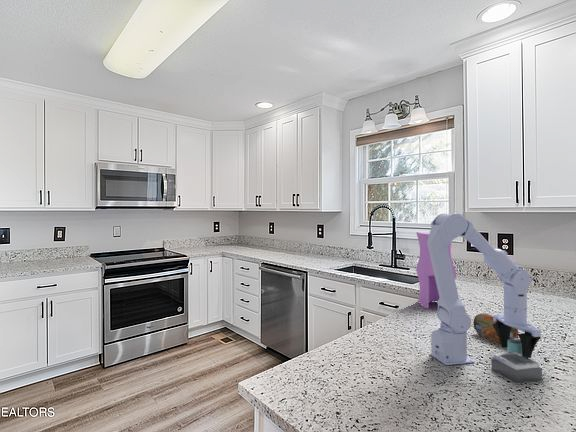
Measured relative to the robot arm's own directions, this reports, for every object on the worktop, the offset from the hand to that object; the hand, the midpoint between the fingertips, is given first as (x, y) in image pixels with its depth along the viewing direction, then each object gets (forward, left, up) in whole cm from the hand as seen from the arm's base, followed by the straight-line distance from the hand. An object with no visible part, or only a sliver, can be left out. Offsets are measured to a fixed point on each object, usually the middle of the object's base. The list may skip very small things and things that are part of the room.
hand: (515, 352), depth 98 cm
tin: (+6, +14, -2) cm, 15 cm away
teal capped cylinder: (0, 0, -2) cm, 2 cm away
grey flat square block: (-8, -8, -2) cm, 11 cm away
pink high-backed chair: (+13, +58, -2) cm, 59 cm away
